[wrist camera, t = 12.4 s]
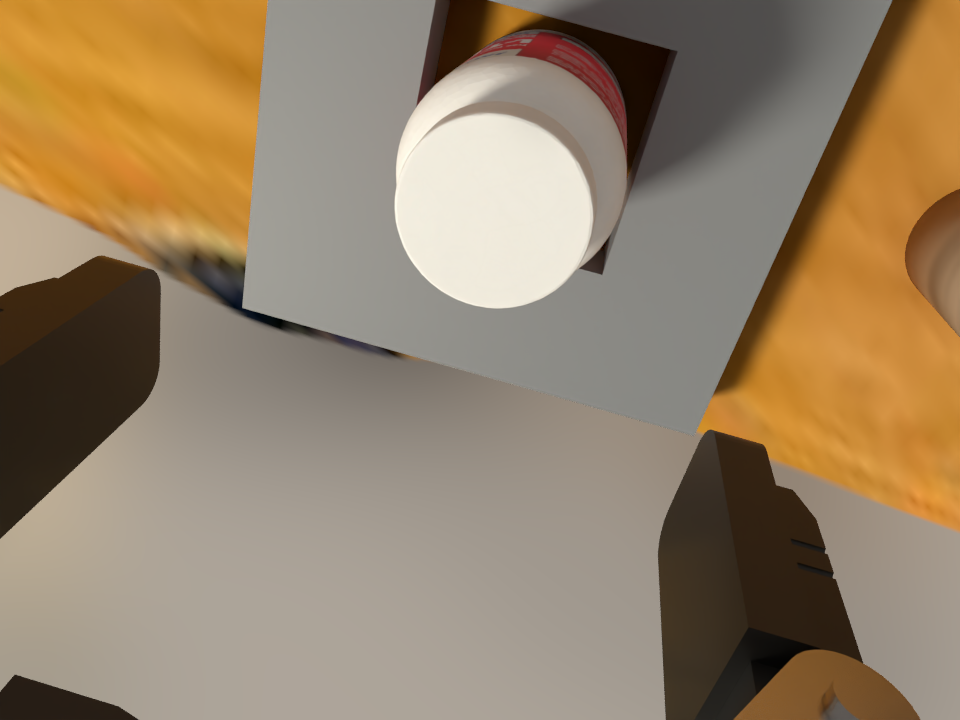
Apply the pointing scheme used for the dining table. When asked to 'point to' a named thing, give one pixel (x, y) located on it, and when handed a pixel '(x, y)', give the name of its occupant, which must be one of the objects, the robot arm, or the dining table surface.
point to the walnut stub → (938, 257)
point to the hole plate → (640, 226)
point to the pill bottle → (513, 170)
